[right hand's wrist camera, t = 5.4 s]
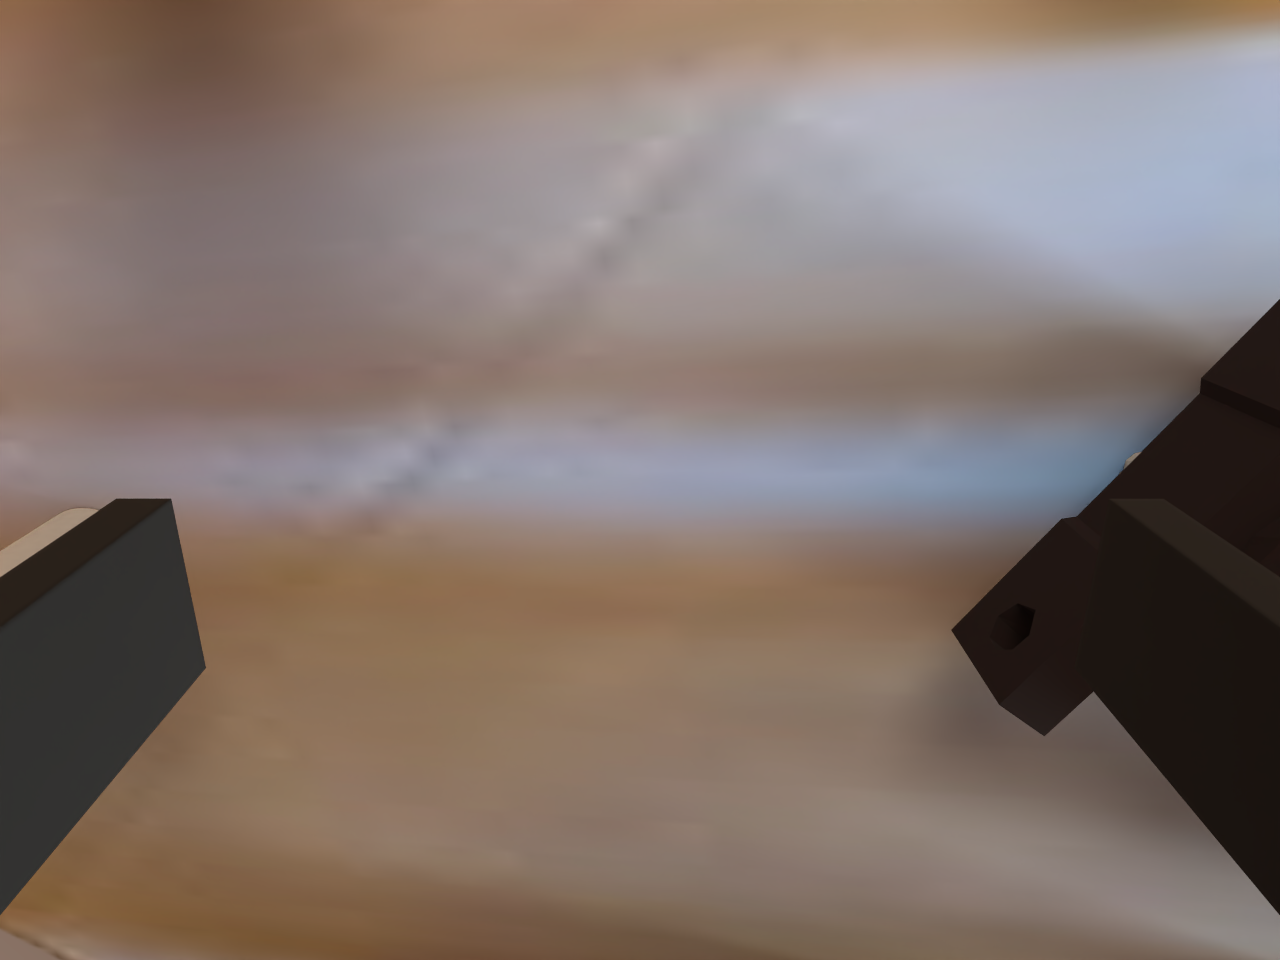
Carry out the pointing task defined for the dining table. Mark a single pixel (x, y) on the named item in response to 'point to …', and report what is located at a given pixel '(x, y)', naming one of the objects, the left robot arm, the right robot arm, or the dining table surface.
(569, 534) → the dining table surface
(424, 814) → the dining table surface
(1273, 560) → the mechanical component
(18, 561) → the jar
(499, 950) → the dining table surface
